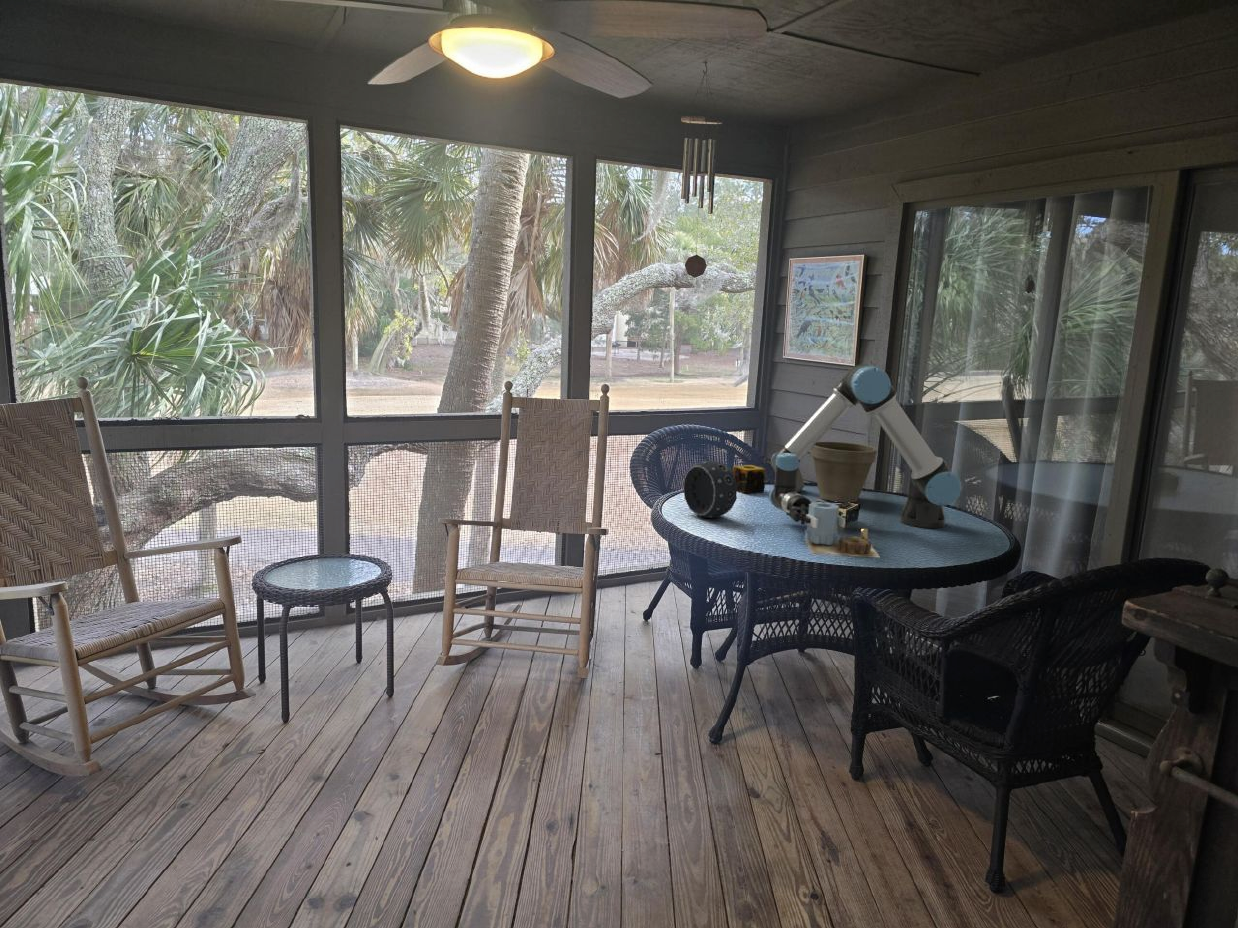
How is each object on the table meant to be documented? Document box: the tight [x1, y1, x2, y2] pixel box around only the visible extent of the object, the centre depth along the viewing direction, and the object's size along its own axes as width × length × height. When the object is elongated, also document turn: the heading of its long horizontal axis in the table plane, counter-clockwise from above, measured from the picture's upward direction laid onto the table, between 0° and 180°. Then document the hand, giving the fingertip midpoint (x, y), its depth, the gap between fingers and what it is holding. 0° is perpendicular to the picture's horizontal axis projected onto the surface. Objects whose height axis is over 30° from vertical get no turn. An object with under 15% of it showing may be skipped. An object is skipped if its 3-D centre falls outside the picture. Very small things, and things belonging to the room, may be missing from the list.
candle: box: [732, 464, 767, 495], centre depth 329 cm, size 10×10×10 cm
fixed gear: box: [838, 535, 872, 555], centre depth 243 cm, size 9×9×4 cm
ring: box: [682, 460, 738, 519], centre depth 283 cm, size 11×20×20 cm, turn 33°
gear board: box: [805, 540, 881, 559], centre depth 246 cm, size 20×17×2 cm
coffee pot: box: [763, 457, 805, 493], centre depth 329 cm, size 21×12×15 cm, turn 125°
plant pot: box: [810, 441, 878, 503], centre depth 318 cm, size 25×25×22 cm
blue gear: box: [804, 501, 840, 545], centre depth 249 cm, size 10×10×11 cm
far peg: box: [859, 527, 869, 540], centre depth 249 cm, size 2×2×5 cm
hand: (830, 523), depth 244 cm, fingers closed on blue gear, 8 cm apart
